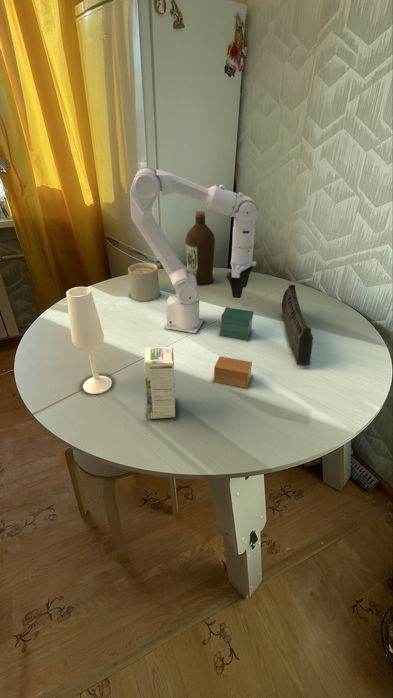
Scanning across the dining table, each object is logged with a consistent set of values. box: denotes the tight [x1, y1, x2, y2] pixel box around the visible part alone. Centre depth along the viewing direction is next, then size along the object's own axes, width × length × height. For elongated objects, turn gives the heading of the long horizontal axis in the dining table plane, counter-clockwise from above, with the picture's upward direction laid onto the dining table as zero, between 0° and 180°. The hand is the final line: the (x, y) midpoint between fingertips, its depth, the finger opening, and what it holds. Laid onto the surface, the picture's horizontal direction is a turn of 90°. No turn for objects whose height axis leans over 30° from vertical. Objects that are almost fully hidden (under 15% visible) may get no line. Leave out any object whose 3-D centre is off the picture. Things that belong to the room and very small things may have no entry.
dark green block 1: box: [220, 320, 253, 334], centre depth 101 cm, size 8×5×2 cm
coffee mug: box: [127, 262, 160, 302], centre depth 123 cm, size 13×10×10 cm
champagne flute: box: [65, 286, 113, 395], centre depth 77 cm, size 7×7×24 cm
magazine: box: [281, 284, 314, 367], centre depth 98 cm, size 17×3×30 cm
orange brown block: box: [213, 355, 253, 381], centre depth 84 cm, size 8×5×2 cm, turn 72°
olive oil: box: [184, 210, 216, 286], centre depth 128 cm, size 11×11×25 cm
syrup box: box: [143, 346, 176, 420], centre depth 73 cm, size 6×6×14 cm
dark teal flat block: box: [220, 307, 254, 327], centre depth 100 cm, size 8×5×2 cm
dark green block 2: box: [219, 324, 253, 341], centre depth 102 cm, size 8×5×2 cm
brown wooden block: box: [213, 371, 252, 389], centre depth 85 cm, size 8×5×2 cm, turn 72°
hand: (239, 291), depth 102 cm, fingers open, 7 cm apart
